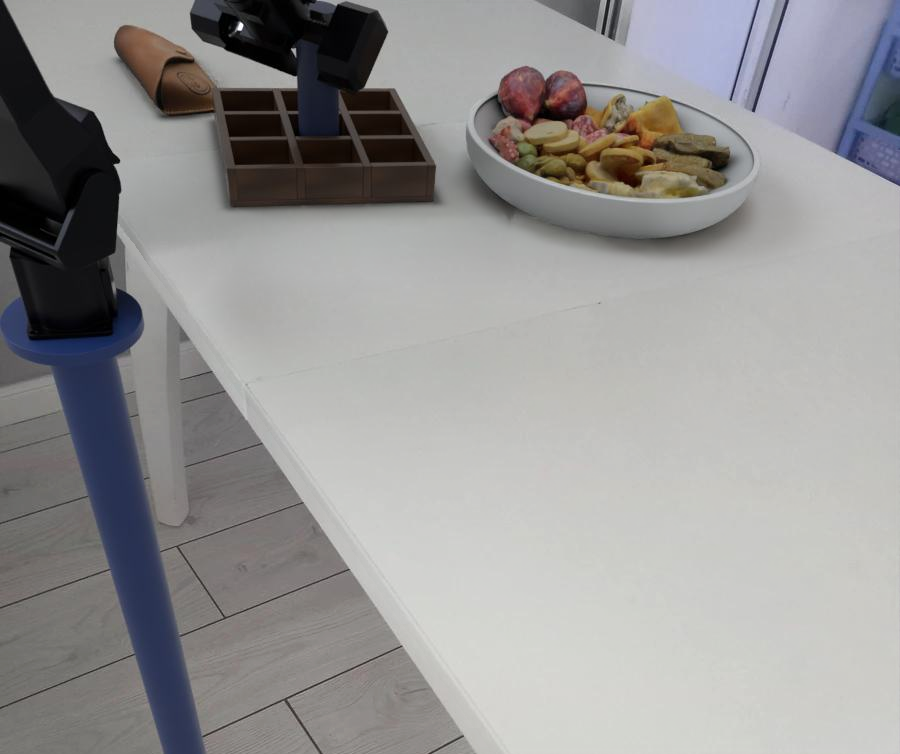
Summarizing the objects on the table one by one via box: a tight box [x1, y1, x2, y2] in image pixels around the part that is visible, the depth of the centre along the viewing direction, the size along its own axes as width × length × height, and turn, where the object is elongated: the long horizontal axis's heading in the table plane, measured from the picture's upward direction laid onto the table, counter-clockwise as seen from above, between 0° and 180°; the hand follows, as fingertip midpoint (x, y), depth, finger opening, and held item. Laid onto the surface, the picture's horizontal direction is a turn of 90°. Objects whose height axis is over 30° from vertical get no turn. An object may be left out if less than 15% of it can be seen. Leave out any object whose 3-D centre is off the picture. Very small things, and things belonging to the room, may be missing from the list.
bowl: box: [465, 65, 762, 239], centre depth 91 cm, size 30×30×8 cm
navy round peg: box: [295, 0, 339, 136], centre depth 87 cm, size 4×4×13 cm
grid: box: [212, 87, 437, 207], centre depth 91 cm, size 20×20×4 cm
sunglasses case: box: [113, 24, 218, 116], centre depth 101 cm, size 18×7×7 cm
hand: (326, 81), depth 87 cm, fingers open, 7 cm apart
